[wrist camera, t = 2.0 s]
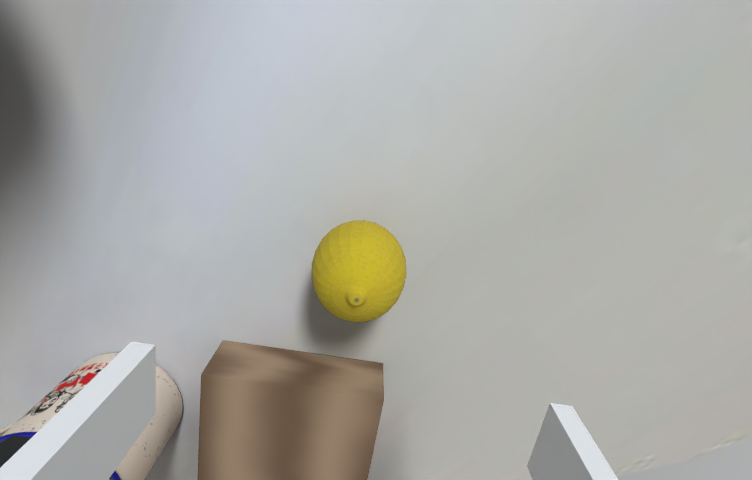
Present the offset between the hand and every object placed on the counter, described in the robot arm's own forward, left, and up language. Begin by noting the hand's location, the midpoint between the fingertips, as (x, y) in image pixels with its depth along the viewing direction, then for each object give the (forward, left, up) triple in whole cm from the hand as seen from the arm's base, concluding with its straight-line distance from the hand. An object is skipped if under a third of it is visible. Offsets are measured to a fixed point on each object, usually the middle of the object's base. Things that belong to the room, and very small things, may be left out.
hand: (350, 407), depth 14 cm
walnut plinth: (-3, -15, -15) cm, 22 cm away
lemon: (0, 0, -16) cm, 16 cm away
